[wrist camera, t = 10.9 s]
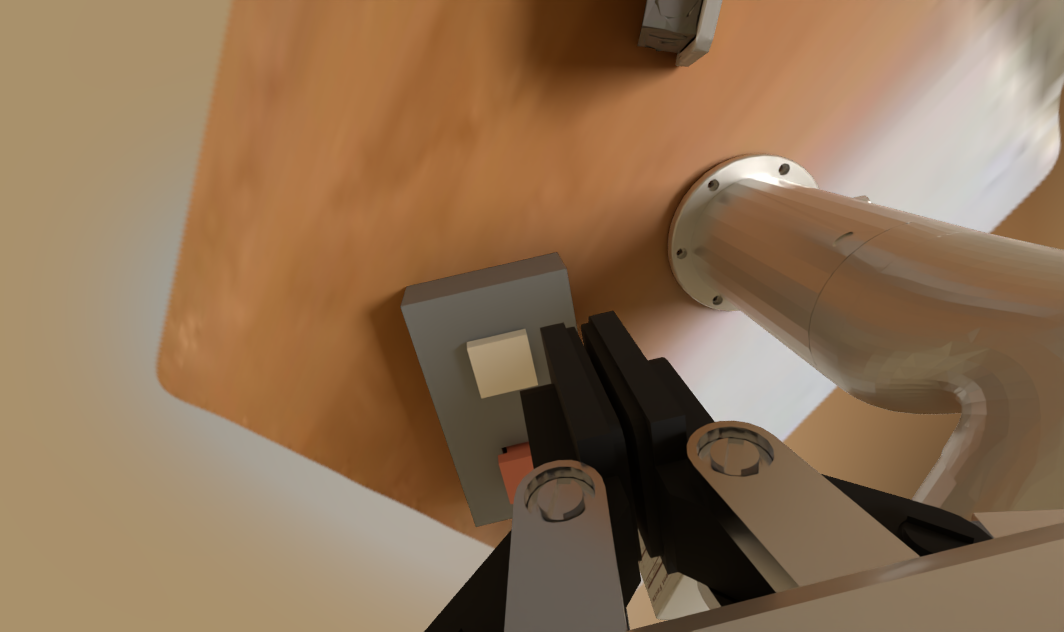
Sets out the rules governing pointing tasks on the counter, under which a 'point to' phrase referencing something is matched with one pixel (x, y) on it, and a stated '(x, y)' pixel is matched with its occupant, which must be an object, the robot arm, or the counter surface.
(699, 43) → the electrical switch
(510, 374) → the ivory plug
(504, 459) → the red plug
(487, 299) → the plug panel
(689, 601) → the supplement box
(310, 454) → the counter surface
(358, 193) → the counter surface
